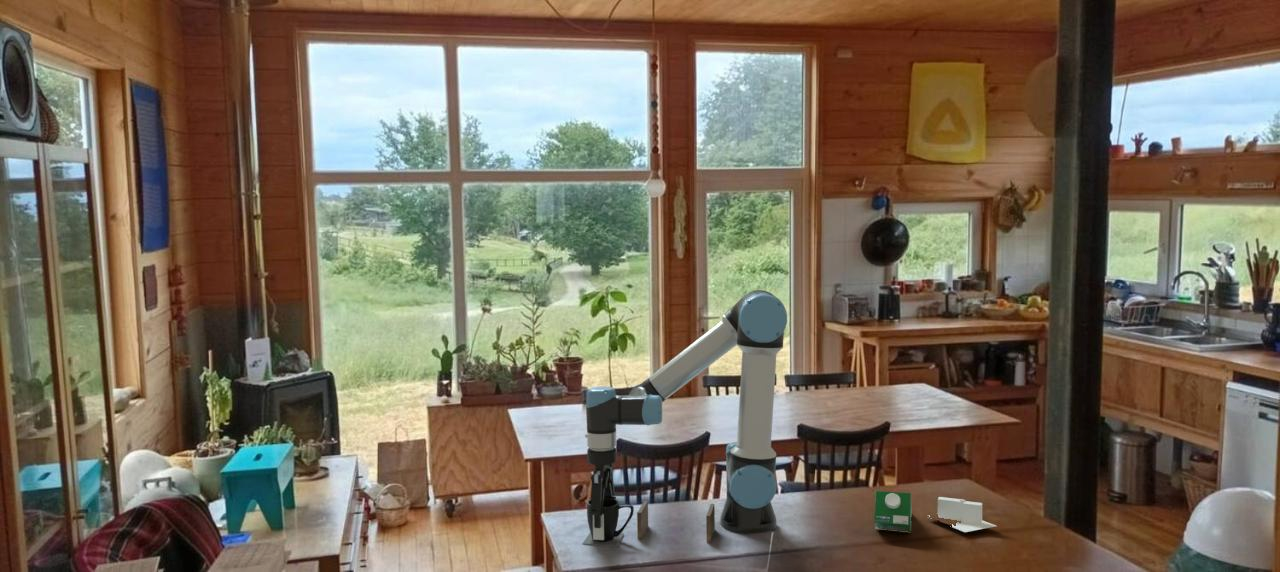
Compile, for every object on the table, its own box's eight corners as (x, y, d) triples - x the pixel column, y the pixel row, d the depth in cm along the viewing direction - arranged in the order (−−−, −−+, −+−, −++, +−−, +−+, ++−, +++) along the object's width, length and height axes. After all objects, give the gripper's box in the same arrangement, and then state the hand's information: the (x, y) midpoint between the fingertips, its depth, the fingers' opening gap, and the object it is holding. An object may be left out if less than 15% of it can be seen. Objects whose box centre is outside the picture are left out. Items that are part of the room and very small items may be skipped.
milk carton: (911, 514, 260) (910, 490, 239) (911, 546, 256) (910, 525, 235) (879, 511, 262) (875, 488, 241) (878, 543, 259) (874, 522, 237)
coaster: (624, 535, 239) (624, 533, 239) (616, 547, 231) (616, 545, 230) (590, 533, 241) (590, 531, 241) (582, 545, 232) (582, 543, 232)
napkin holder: (925, 516, 253) (925, 496, 252) (956, 510, 257) (956, 490, 257) (965, 532, 239) (965, 511, 239) (997, 525, 244) (997, 504, 243)
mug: (631, 545, 231) (631, 508, 230) (584, 543, 232) (584, 506, 231) (634, 533, 239) (634, 498, 238) (589, 531, 240) (589, 496, 239)
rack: (714, 529, 243) (714, 503, 242) (710, 542, 233) (710, 515, 233) (644, 526, 246) (644, 500, 246) (637, 538, 237) (637, 512, 236)
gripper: (597, 436, 246) (599, 517, 247) (576, 458, 224) (578, 546, 225) (625, 437, 244) (626, 519, 246) (606, 459, 222) (607, 548, 224)
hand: (603, 532), depth 236 cm, fingers open, 10 cm apart
